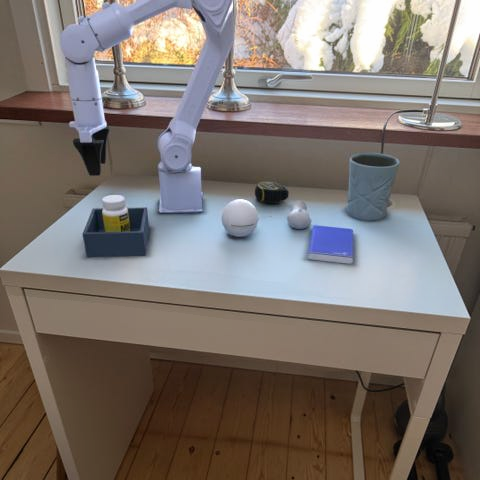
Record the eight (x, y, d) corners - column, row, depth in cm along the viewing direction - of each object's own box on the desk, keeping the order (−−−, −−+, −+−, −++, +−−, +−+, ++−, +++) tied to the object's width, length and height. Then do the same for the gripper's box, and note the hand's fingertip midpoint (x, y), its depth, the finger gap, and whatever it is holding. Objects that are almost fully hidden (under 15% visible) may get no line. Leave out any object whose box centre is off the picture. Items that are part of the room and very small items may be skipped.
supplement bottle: (125, 246, 88) (120, 204, 83) (102, 244, 89) (95, 202, 84) (135, 236, 92) (130, 195, 87) (112, 233, 93) (106, 192, 88)
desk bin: (149, 228, 96) (147, 207, 93) (145, 255, 87) (143, 232, 84) (96, 230, 95) (92, 208, 92) (86, 257, 86) (82, 233, 83)
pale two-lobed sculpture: (305, 237, 97) (282, 228, 97) (309, 221, 103) (288, 212, 103) (313, 220, 94) (290, 210, 94) (317, 204, 100) (295, 195, 100)
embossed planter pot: (396, 220, 102) (408, 165, 95) (353, 224, 100) (363, 168, 93) (374, 203, 110) (384, 151, 103) (334, 206, 108) (342, 153, 101)
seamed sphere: (219, 242, 91) (219, 207, 87) (223, 226, 97) (223, 192, 93) (270, 245, 91) (272, 209, 87) (271, 229, 97) (273, 195, 93)
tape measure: (289, 203, 109) (290, 187, 107) (264, 208, 106) (265, 192, 104) (273, 193, 114) (274, 178, 111) (249, 198, 111) (249, 182, 109)
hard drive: (353, 256, 84) (353, 228, 94) (308, 251, 86) (313, 224, 96) (351, 264, 85) (352, 235, 95) (307, 259, 87) (312, 231, 96)
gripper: (72, 91, 95) (84, 158, 103) (56, 106, 83) (71, 181, 91) (107, 91, 96) (116, 158, 103) (97, 106, 84) (108, 180, 92)
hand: (97, 169), depth 97 cm, fingers open, 7 cm apart
